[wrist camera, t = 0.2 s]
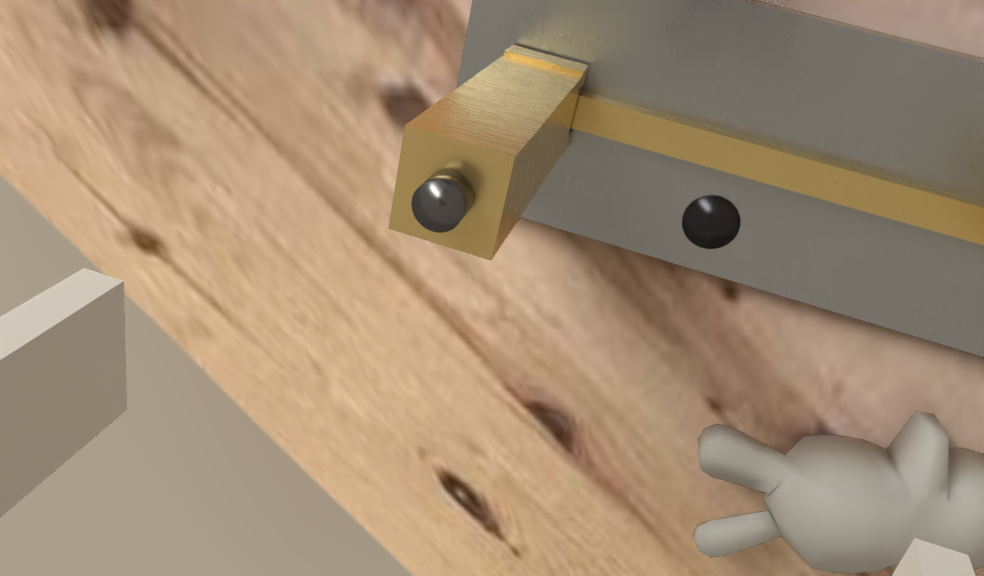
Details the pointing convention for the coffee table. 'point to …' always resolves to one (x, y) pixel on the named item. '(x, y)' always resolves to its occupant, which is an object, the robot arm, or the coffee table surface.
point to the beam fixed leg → (781, 166)
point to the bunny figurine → (849, 496)
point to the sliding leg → (485, 151)
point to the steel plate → (773, 118)
